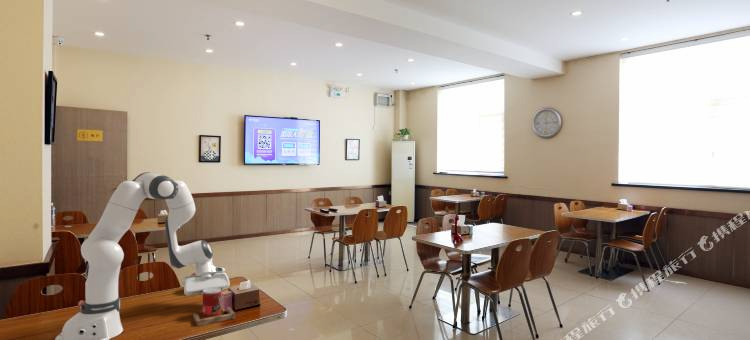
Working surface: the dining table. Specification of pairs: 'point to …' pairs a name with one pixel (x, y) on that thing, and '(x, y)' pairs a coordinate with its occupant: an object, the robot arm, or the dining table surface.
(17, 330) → the dining table surface
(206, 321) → the tray
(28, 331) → the dining table surface
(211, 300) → the canned food
